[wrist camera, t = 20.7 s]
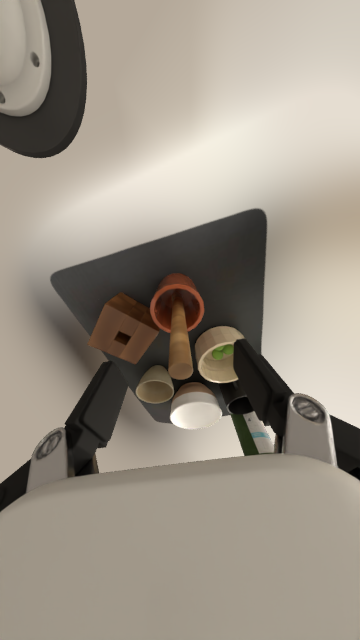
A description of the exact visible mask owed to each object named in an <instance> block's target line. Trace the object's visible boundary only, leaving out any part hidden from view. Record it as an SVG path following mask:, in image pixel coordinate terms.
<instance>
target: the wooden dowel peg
mask: <svg viewBox="0 0 360 640" xmlns="http://www.w3.org/2000/svg"><path fill="white" fill-rule="evenodd" d="M183 303H184V302H183V296H181V295H180V294H179V293H177V292H176V291H174V292H173V294H172V318H171V334H170V351H169V368H168V373H169V375H170V376H171V377H172V378H174V379H179V380H181V379H186V378H188V377H190V376H191V375H192V373H193V365H192V359H191V352H190V345H189V339H188V332H187V325H186V318H185V312H184V305H183Z"/></svg>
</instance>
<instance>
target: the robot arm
mask: <svg viewBox="0 0 360 640" xmlns="http://www.w3.org/2000/svg"><path fill="white" fill-rule="evenodd" d="M50 78H51V48H50V39H49V33H48V28H47V23H46V18H45V14H44V10H43V7H42V3H41V0H0V112H1V113H4V114H7V115H10V116H20V117H21V116H25V115H29V114H31V113H33V112H34V111H36V110H37V109H38V108H39V107H40V105H41V104H42V103H43V101H44V100H45V97H46V94H47V92H48V89H49V84H50ZM233 368H234V371H235V373H236V375H237V377H238V379H239V381H240V383H241V385H242V387H243V389H244V391H245V393H246V395H247V397H248V399H249V401H250V403H251V406H252V408H253V410H254V412H255V414H256V416H257V418H258V419H259V420H260V421H262V422H263V423H264V426H269V425H270V426H271V428H272V429H273V431H274V433H276V436H275V444H274V453H273V454H262V455H251V456H240V457H231V458H222V459H213V460H205V461H196V462H188V463H179V464H171V465H163V466H155V467H146V468H138V469H131V470H123V471H114V472H106V473H99V470H98V465H97V460H96V455H95V452H96V449H97V448H103V447H106V446H107V442H108V441H109V440H110V439H111V436H112V433H113V430H114V427H115V424H116V421H117V418H118V415H119V412H120V409H121V406H122V403H123V400H124V397H125V394H126V391H127V388H128V383H127V381H126V380H125V378H124V377H123V375H122V373H121V372H120V370H119V369H118V367H117V366H116V364H115V363H114V362H112V361H108V362H103V363H102V365H101V366H100V368H99V369H98V371H97V373H96V374H95V376H94V377H93V379H92V381H91V382H90V384H89V385H88V387H87V389H86V390H85V392H84V393H83V395H82V397H81V398H80V400H79V402H78V403H77V405H76V406H75V408H74V410H73V411H72V413H71V414H70V416H69V417H68V419H67V421H66V422H65V425H66V426H65V428H62V427H61V428H57V429H54V430H53V431H51V432H50V433H48V434H47V435H46V436H45V437H44V438H43V439H42V440H41V441H40V442H39V444H38V445H37V446H36V448H35V450H34V452H33V454H32V458H31V459H30V460H29V461H27V462H26V463H25V464H24V465H23V466H21V467H20V468H19V469H18V470H17V471H15V472H14V473H13V474H12V475H11V476H9V477H8V478H7V479H6V480H4V481H3V482H2V483H1V484H0V640H360V429H359V428H357V427H355V426H353V425H351V424H349V423H347V422H344V421H342V420H340V419H338V418H336V417H334V416H332V415H329V413H328V412H327V410H326V409H325V407H324V406H323V405H322V404H320V403H319V402H318V401H317V400H315V399H314V398H312V397H310V396H308V395H304V394H299V393H296V394H294V393H293V392H292V390H291V389H290V388H289V387H288V386H287V384H286V383H285V382H284V381H283V380H282V379H281V377H280V376H279V375H278V374H277V373H276V371H275V370H274V369H273V367H272V366H271V365H270V364H269V363H268V361H267V360H266V359H265V358H264V357H263V356H262V355H261V354H257V353H256V352H255V350H254V349H253V348H252V346H251V345H250V344H249V343H248V341H247V340H246V339H245V338H243V339H237V340H236V342H234V352H233Z"/></svg>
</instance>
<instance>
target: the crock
mask: <svg viewBox="0 0 360 640" xmlns="http://www.w3.org/2000/svg"><path fill="white" fill-rule="evenodd" d="M174 291H176V292H177V293H179V294H180V295H181V296H183V302H184V303H183V305H184V312H185V318H186V325H187V332H188V331H190V330H192V329H193V328H195V327H196V326H197V325H198V324H199V322H200V321H201V320H202V317H203V314H204V303H203V300H202V298H201V296H200V295H199V293H198V291H197V289H196V287H195V286H194V284H193V282H192V281H191V279H189V278H188V277H187V276H185V275H183V274H178V273H175V274H170V275H168V276H166V277H165V278H164V279H163V280H162V281H161V283H160V285H159V286H158V288H157V290H156V292H155V294H154V296H153V299H152V301H151V307H150V313H151V316H152V319H153V321H154V322H155V323H156V325H157V326H158V327H159V328H161V329H163V330H164V331H166V332H169V333H171V318H172V294H173V292H174Z"/></svg>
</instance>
